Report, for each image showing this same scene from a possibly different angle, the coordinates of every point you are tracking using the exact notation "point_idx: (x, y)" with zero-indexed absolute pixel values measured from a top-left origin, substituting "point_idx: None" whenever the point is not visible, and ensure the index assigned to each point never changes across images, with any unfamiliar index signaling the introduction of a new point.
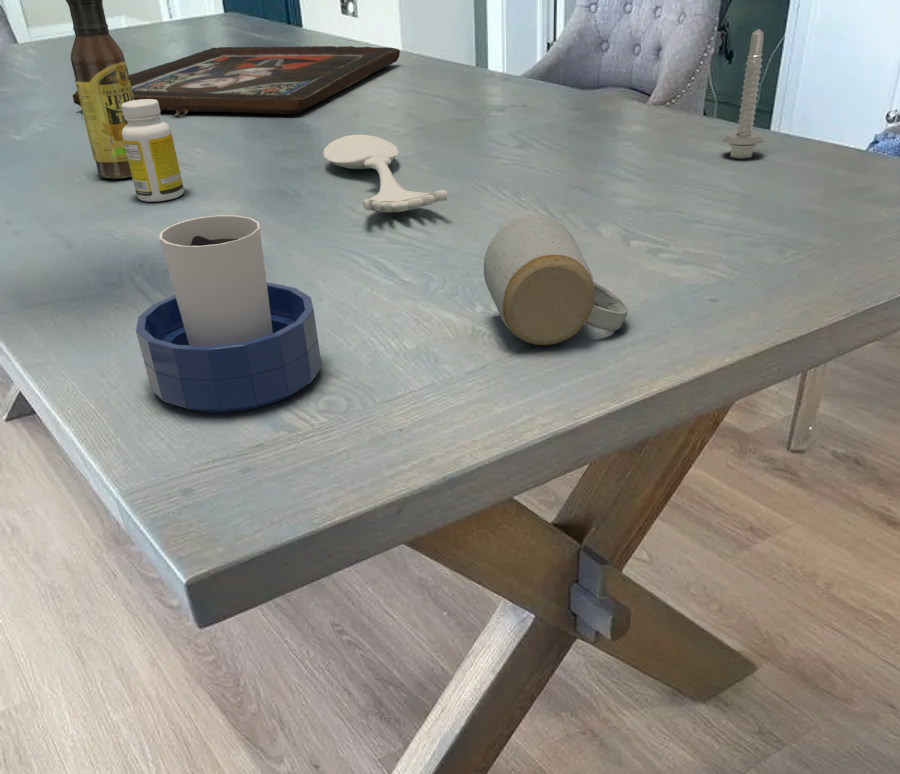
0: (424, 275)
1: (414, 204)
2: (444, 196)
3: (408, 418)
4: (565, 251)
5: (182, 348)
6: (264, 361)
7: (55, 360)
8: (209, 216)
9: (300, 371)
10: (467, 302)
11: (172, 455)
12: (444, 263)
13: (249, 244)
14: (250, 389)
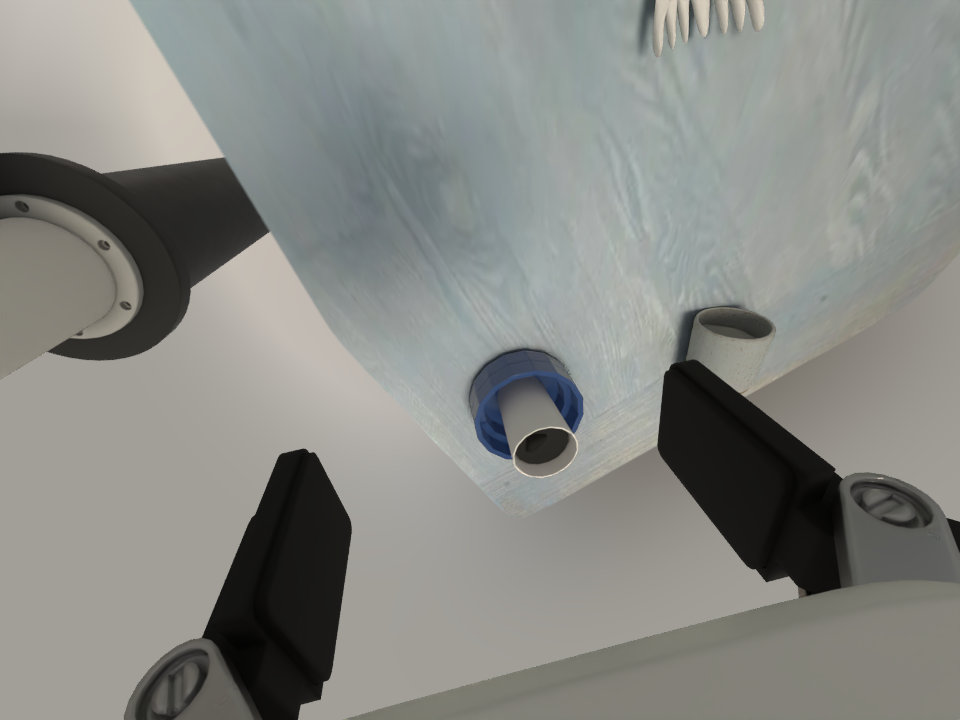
0: (663, 219)
1: (716, 2)
2: (755, 27)
3: (606, 430)
4: (749, 386)
5: (510, 458)
6: None
7: (386, 363)
8: (542, 428)
9: None
10: (677, 285)
11: (494, 461)
12: (688, 188)
13: (568, 458)
14: None
